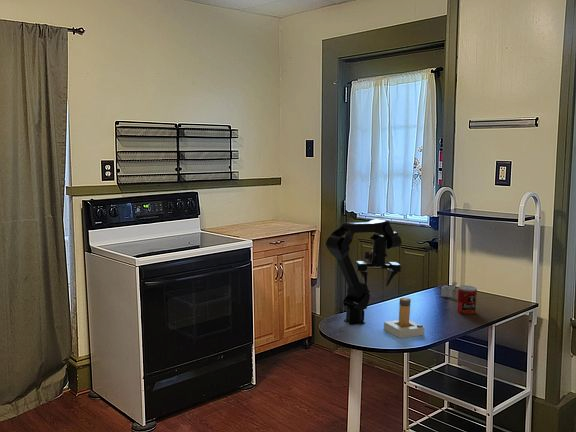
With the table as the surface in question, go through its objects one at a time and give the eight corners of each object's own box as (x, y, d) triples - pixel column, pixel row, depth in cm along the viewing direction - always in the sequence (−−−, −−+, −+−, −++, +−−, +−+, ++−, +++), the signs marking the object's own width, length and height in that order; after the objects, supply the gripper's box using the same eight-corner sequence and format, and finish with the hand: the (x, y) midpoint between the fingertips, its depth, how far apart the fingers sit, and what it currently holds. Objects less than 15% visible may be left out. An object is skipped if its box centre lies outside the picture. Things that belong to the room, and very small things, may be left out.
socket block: (399, 338, 214) (400, 328, 214) (383, 329, 224) (384, 320, 224) (424, 335, 218) (424, 325, 218) (407, 326, 228) (407, 317, 228)
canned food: (462, 315, 246) (464, 290, 244) (453, 309, 254) (455, 285, 252) (478, 314, 247) (480, 289, 246) (469, 309, 255) (471, 285, 254)
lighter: (440, 296, 276) (441, 279, 276) (442, 295, 278) (443, 279, 277) (454, 298, 272) (456, 282, 271) (456, 298, 273) (457, 281, 272)
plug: (402, 334, 219) (403, 301, 217) (396, 331, 222) (397, 298, 221) (411, 333, 220) (412, 300, 219) (404, 329, 224) (406, 297, 222)
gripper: (394, 245, 246) (390, 280, 249) (352, 244, 243) (349, 279, 246) (403, 252, 236) (399, 288, 238) (359, 251, 233) (356, 288, 235)
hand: (375, 286), depth 240 cm, fingers open, 9 cm apart
